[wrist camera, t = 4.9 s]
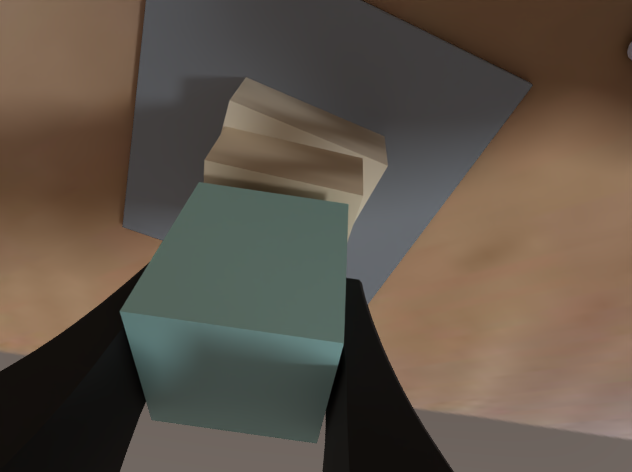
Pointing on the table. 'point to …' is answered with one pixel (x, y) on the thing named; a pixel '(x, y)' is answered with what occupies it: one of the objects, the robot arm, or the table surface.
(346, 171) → the tower mid
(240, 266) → the teal block
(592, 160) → the table surface
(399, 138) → the felt mat
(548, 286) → the table surface
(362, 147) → the tower base
